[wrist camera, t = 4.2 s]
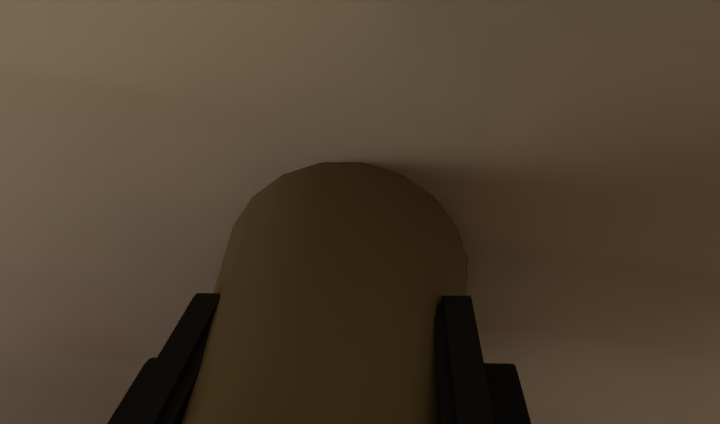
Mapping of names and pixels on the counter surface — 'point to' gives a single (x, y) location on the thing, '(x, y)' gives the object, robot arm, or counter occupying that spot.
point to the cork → (330, 303)
